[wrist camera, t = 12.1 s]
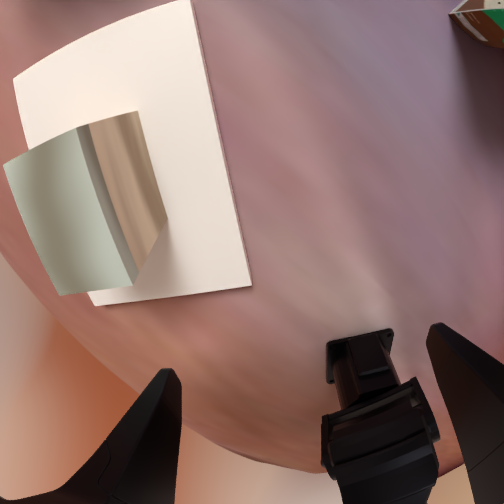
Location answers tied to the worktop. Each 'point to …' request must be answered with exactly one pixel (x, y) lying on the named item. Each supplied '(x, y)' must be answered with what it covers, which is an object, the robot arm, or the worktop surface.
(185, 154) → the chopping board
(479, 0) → the food container
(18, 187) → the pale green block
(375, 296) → the worktop surface
